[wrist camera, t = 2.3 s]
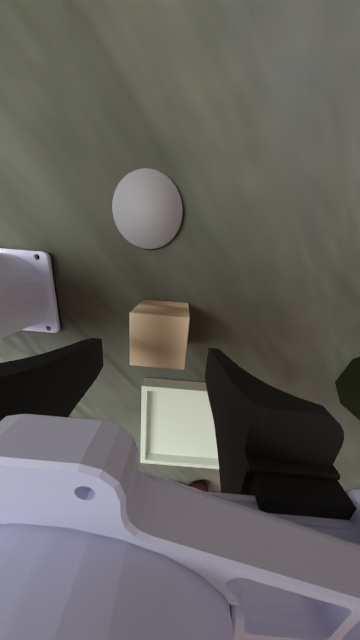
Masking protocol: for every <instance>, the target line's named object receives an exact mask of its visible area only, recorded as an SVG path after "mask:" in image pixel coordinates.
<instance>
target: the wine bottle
mask: <svg viewBox="0 0 360 640" xmlns="http://www.w3.org/2000/svg"><path fill="white" fill-rule="evenodd" d="M335 383H336V387H337V391H338V395H339V399H340V403H341V404H342V405H343V406H344V407H345V408H347V409H348V410H349V411H350V412H351V413H352V414H353V415H354V416H355V417H356V418H358V419H359V420H360V357H358V358H356V359H353V360H352V361H351V362H350V364H349V365H348V366H347V368H346V369H345V370H344V372H343V373H342V374H341V376H340V377H339V378H338V380H337V381H336V382H335Z"/></svg>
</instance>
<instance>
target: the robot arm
mask: <svg viewBox="0 0 360 640" xmlns="http://www.w3.org/2000/svg"><path fill="white" fill-rule="evenodd" d="M37 255H39V257H40V259H38V257H37ZM49 326H50V327H51V329H50V328H49ZM20 330H26V331H38V332H49V333H56V332H58V331H59V330H60V323H59V316H58V309H57V302H56V294H55V287H54V280H53V273H52V266H51V259H50V256H49V254H48V253H46V252H41V251H29V250H17V249H5V248H0V339H1V338H3V337H6V336H8V335H11V334H13V333H15V332H18V331H20ZM102 367H103V353H102V339H98V338H90V339H86V340H83V341H80V342H77V343H74V344H71V345H68V346H65V347H63V348H59V349H56V350H53V351H50V352H47V353H43V354H40V355H36V356H32V357H28V358H24V359H20V360H14V361H9V362H4V363H0V640H360V489H359V488H354V489H349V490H347V491H346V492H345V491H344V489H343V488H342V486H341V485H340V484H339V482H338V481H337V480H339V479H340V474H339V473H338V471H337V470H336V469H335V467H334V466H333V463H334V461H335V459H336V457H337V455H338V453H339V451H340V449H341V447H342V444H343V440H344V431H343V429H342V427H341V425H340V424H339V423H338V422H337V421H336V419H335V418H334V417H333V416H332V415H331V414H330V413H329V412H328V411H327V410H326V409H325V408H324V407H323V406H321V405H318V404H315V403H312V402H309V401H306V400H303V399H301V398H298V397H295V396H293V395H290V394H288V393H285V392H283V391H281V390H278V389H276V388H274V387H272V386H270V385H268V384H266V383H264V382H263V381H261V380H259V379H257V378H256V377H254V376H252V375H251V374H249V373H248V372H246V371H245V370H244V369H242V368H241V367H239V366H238V365H237V364H236V363H234V362H233V361H232V360H231V359H230V358H228V357H227V356H226V355H225V354H224V353H223V352H222V351H220V350H219V349H214V348H209V351H208V358H207V365H206V372H205V379H206V389H207V393H208V398H209V402H210V407H211V411H212V415H213V420H214V426H215V434H216V443H217V452H218V461H219V472H220V483H221V493H217V492H205V491H202V490H199V489H196V488H193V487H190V486H187V485H184V484H181V483H178V482H175V481H172V480H169V479H166V478H163V477H160V476H158V475H155V474H152V473H149V472H146V471H143V470H140V469H139V468H138V449H137V446H136V443H135V441H134V438H133V436H132V435H131V434H130V433H129V432H127V431H126V430H125V429H124V428H123V427H121V426H120V425H118V424H114V423H111V422H107V421H104V420H93V419H81V418H70V417H69V415H70V413H71V412H72V411H73V409H74V408H75V406H76V405H77V404H78V402H79V401H80V400H81V398H82V397H83V396H84V394H85V393H86V392H87V390H88V389H89V388H90V386H91V385H92V384H93V382H94V381H95V379H96V378H97V376H98V375H99V373H100V371H101V369H102Z"/></svg>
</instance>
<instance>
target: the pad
mask: <svg viewBox="0 0 360 640" xmlns="http://www.w3.org/2000/svg"><path fill="white" fill-rule="evenodd" d="M112 210H113V217H114V221H115V224H116V226H117V228H118V230H119V231H120V233H121V234H122V235H123V237H124V238H125V239H126V240H127V241H129V242H130V243H132V244H133V245H135V246H137V247H140V248H144V249H156V248H160V247H162V246H164V245H166V244H167V243H169V242H170V241H171V240H172V239H173V238H174V236H175V235H176V234H177V232H178V230H179V228H180V225H181V221H182V212H183V209H182V201H181V197H180V194H179V192H178V190H177V188H176V186H175V185H174V183H173V182H172V181H171V180H170V179H169V178H168V177H167V176H166V175H164V174H163V173H161V172H159V171H157V170H154V169H148V168H143V169H138V170H135V171H132V172H130V173H129V174H127V175H126V176H125V177H124V178H123V179H122V180H121V181H120V183H119V184H118V186H117V188H116V190H115V193H114V196H113V202H112Z"/></svg>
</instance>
